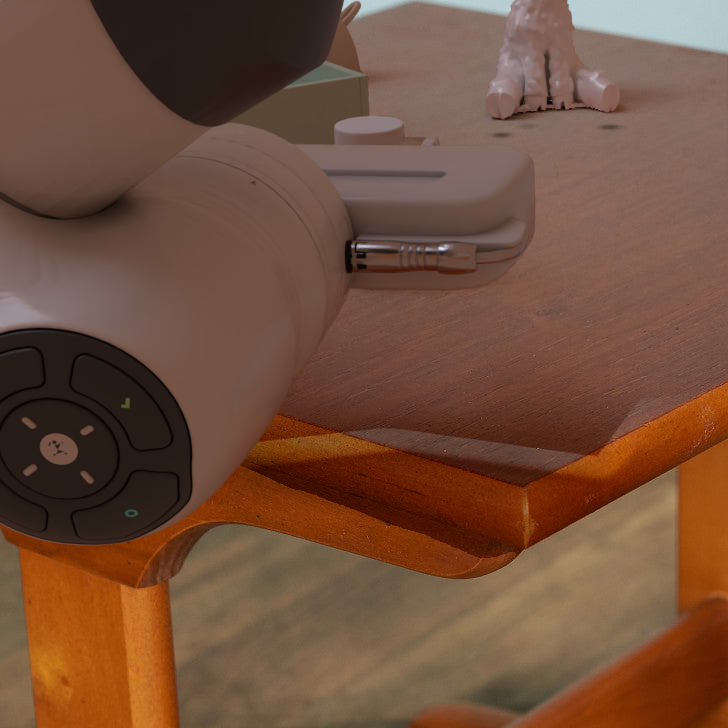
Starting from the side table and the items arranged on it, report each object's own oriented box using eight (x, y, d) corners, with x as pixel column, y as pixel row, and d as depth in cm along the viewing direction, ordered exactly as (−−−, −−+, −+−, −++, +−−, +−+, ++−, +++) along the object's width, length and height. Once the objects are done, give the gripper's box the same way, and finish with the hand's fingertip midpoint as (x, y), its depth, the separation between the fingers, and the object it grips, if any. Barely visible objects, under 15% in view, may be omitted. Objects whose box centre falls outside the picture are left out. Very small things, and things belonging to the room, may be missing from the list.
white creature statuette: (488, 121, 113) (484, -64, 108) (461, 93, 120) (456, -81, 115) (622, 111, 115) (625, -71, 109) (588, 84, 122) (589, -88, 117)
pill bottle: (319, 283, 84) (308, 131, 81) (356, 257, 88) (347, 110, 84) (399, 292, 83) (392, 137, 79) (433, 265, 86) (427, 116, 83)
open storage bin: (180, 190, 100) (171, 106, 97) (96, 145, 109) (85, 68, 107) (372, 154, 106) (367, 74, 104) (276, 114, 116) (270, 41, 114)
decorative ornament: (263, 87, 123) (256, 13, 121) (352, 69, 128) (347, -3, 126) (296, 96, 121) (290, 20, 118) (385, 77, 126) (381, 4, 123)
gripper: (516, 173, 55) (557, 80, 68) (-69, 165, 58) (73, 77, 70) (520, 351, 58) (558, 231, 71) (-38, 336, 61) (93, 222, 73)
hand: (312, 154), depth 70 cm, fingers open, 8 cm apart
